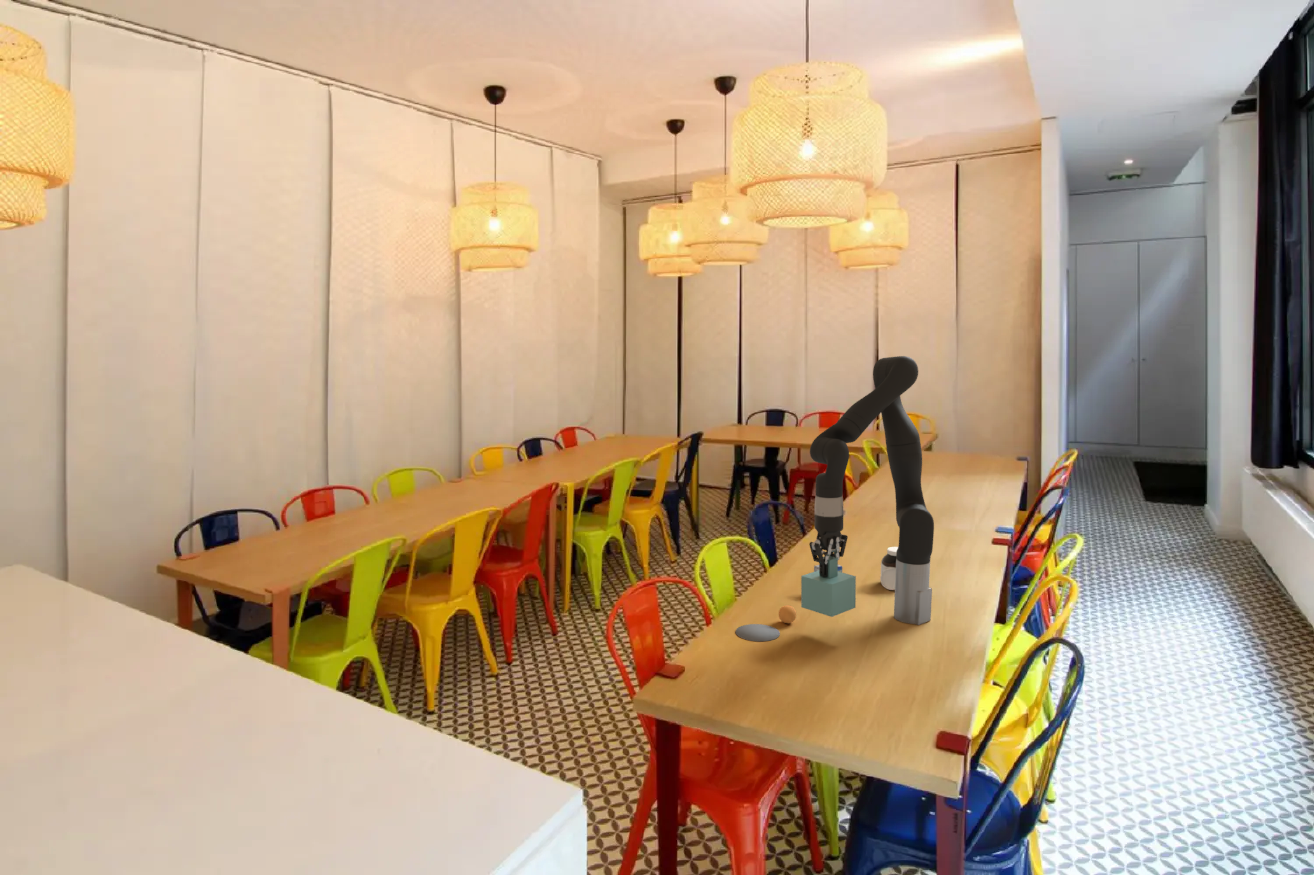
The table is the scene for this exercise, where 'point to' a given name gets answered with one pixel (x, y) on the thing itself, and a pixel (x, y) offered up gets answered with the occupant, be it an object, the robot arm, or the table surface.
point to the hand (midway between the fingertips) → (828, 574)
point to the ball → (787, 614)
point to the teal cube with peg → (828, 591)
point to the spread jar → (889, 569)
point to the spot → (757, 632)
